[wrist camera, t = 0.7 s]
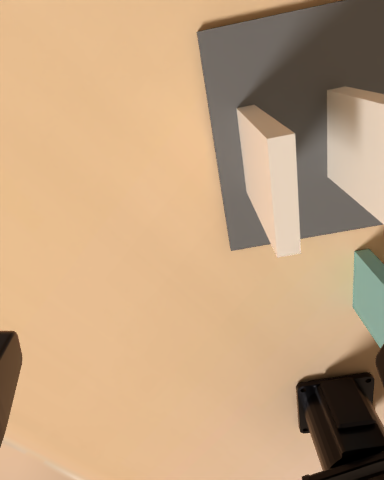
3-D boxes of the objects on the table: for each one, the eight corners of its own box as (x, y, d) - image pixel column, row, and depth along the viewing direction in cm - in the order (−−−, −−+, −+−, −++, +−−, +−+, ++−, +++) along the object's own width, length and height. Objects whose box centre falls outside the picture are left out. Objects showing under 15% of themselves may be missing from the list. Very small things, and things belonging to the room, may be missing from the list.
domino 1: (262, 188, 22) (301, 253, 15) (246, 191, 22) (277, 257, 15) (254, 104, 20) (295, 133, 13) (236, 107, 20) (267, 138, 13)
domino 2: (343, 173, 22) (422, 232, 15) (327, 176, 22) (398, 236, 15) (345, 86, 19) (440, 105, 12) (326, 90, 19) (410, 111, 12)
